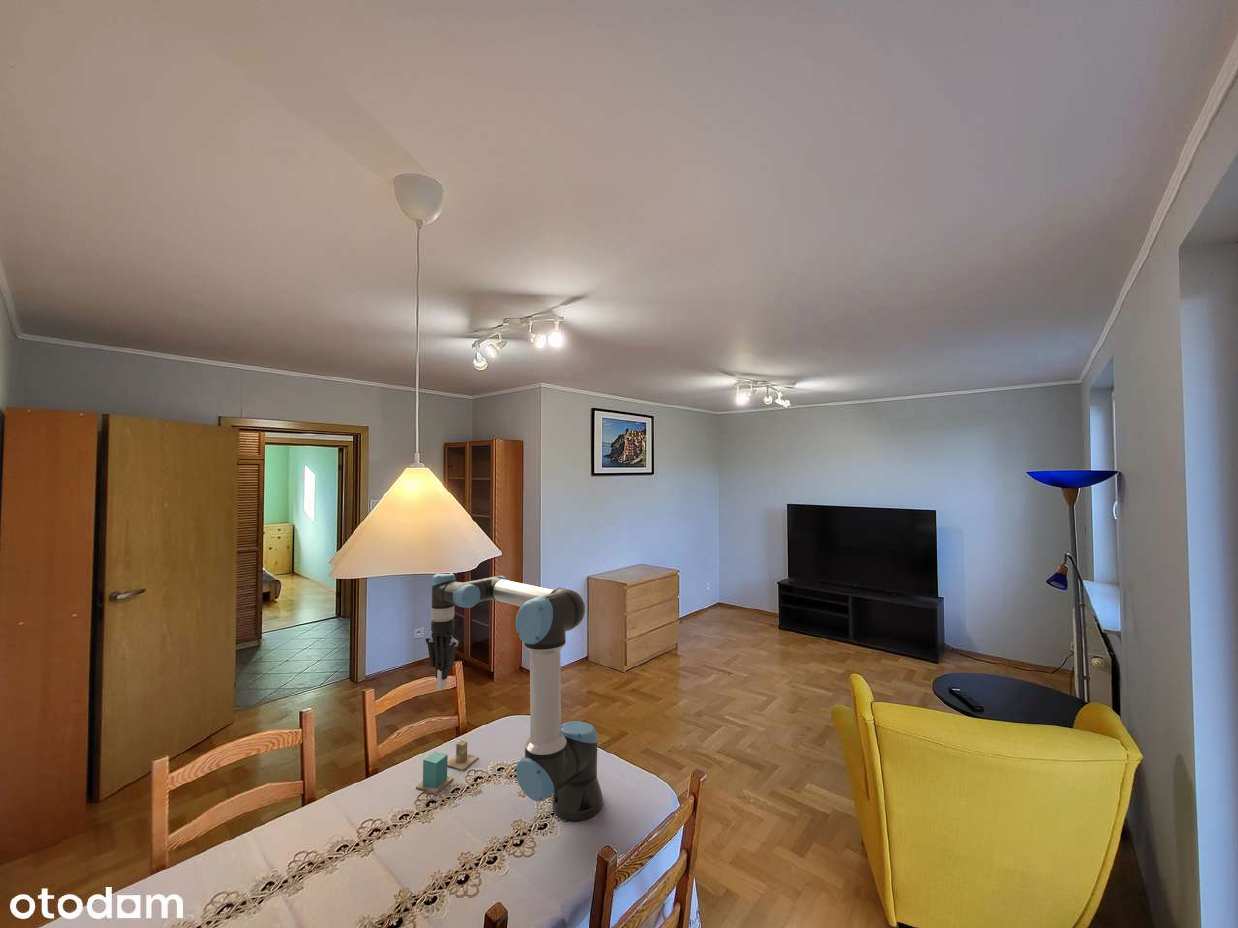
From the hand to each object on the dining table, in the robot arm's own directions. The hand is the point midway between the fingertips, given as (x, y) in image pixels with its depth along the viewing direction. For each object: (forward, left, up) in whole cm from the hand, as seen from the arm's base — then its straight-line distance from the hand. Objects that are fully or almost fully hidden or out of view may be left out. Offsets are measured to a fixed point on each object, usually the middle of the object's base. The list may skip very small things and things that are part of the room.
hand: (441, 688), depth 165 cm
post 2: (-5, -5, -26) cm, 27 cm away
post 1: (-5, +8, -26) cm, 28 cm away
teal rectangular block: (-5, +8, -26) cm, 27 cm away
